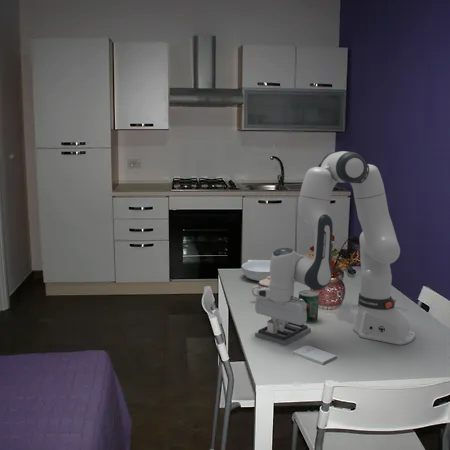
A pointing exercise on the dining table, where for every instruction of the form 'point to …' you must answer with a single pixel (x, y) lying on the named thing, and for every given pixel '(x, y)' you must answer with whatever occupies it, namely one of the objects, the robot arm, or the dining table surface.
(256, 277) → the serving bowl
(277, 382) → the dining table surface
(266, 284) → the teacup with lid
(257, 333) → the panel
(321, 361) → the external hard drive
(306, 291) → the canned tomato
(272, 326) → the block
